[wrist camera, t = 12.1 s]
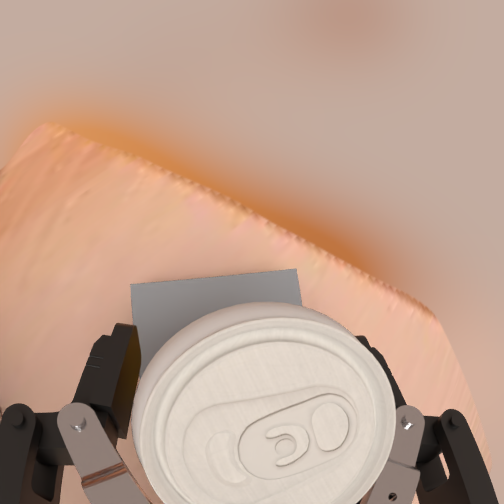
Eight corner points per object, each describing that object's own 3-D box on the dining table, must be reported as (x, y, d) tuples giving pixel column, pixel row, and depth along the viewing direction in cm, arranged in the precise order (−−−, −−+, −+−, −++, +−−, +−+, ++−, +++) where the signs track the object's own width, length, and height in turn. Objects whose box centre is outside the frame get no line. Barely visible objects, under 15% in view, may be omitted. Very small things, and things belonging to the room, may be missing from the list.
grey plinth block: (163, 425, 22) (153, 448, 16) (146, 295, 25) (130, 284, 19) (294, 408, 24) (318, 425, 19) (277, 283, 27) (296, 268, 22)
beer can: (168, 334, 19) (78, 337, 5) (254, 311, 20) (374, 260, 6) (194, 416, 18) (186, 570, 3) (278, 392, 19) (420, 484, 5)
